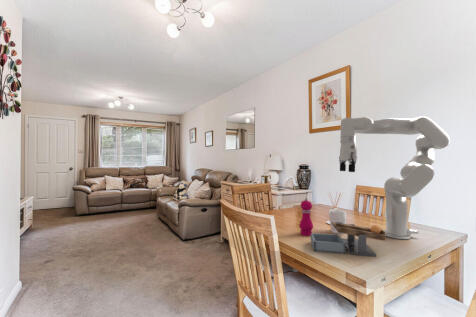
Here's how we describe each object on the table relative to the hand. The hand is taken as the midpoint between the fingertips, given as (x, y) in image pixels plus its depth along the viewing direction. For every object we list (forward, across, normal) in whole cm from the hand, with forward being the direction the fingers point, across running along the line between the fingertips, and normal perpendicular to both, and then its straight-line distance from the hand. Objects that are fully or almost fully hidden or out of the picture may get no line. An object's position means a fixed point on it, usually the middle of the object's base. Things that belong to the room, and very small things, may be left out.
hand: (347, 171), depth 125 cm
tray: (+27, -19, +5) cm, 33 cm away
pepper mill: (+35, 0, +22) cm, 42 cm away
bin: (+35, -19, +18) cm, 44 cm away
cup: (+35, +4, +3) cm, 35 cm away
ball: (+25, -24, -1) cm, 35 cm away
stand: (+35, -19, +5) cm, 40 cm away
